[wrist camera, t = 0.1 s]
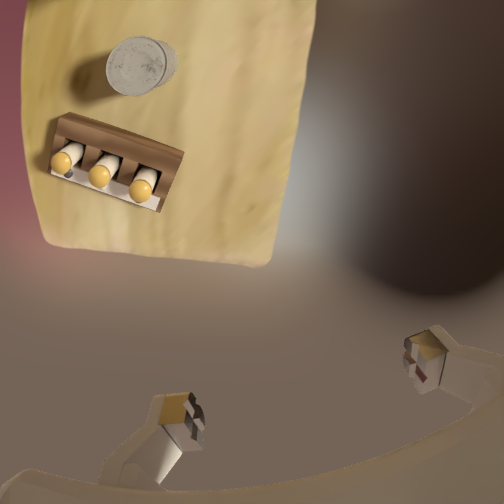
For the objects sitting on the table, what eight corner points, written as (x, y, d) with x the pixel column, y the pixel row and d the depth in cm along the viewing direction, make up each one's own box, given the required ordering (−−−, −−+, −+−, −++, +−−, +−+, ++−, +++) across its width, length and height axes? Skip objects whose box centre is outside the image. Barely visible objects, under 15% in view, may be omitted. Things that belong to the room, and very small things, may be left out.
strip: (53, 159, 46) (52, 160, 46) (160, 197, 55) (160, 198, 55) (51, 173, 48) (50, 174, 47) (155, 210, 56) (155, 211, 56)
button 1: (70, 137, 46) (53, 150, 40) (88, 143, 48) (72, 156, 41) (66, 156, 48) (49, 171, 42) (83, 161, 50) (67, 177, 43)
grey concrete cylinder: (150, 98, 47) (134, 108, 38) (117, 66, 42) (93, 70, 32) (188, 63, 44) (181, 64, 35) (154, 30, 39) (139, 23, 30)
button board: (70, 111, 45) (59, 117, 41) (184, 151, 55) (181, 160, 51) (57, 163, 51) (47, 172, 47) (163, 201, 61) (159, 212, 57)
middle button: (105, 149, 49) (91, 163, 43) (123, 155, 50) (111, 170, 44) (99, 167, 51) (85, 183, 45) (117, 173, 52) (106, 191, 46)
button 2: (141, 162, 52) (132, 177, 46) (161, 169, 53) (154, 185, 47) (135, 180, 54) (125, 198, 48) (154, 186, 55) (147, 205, 49)
